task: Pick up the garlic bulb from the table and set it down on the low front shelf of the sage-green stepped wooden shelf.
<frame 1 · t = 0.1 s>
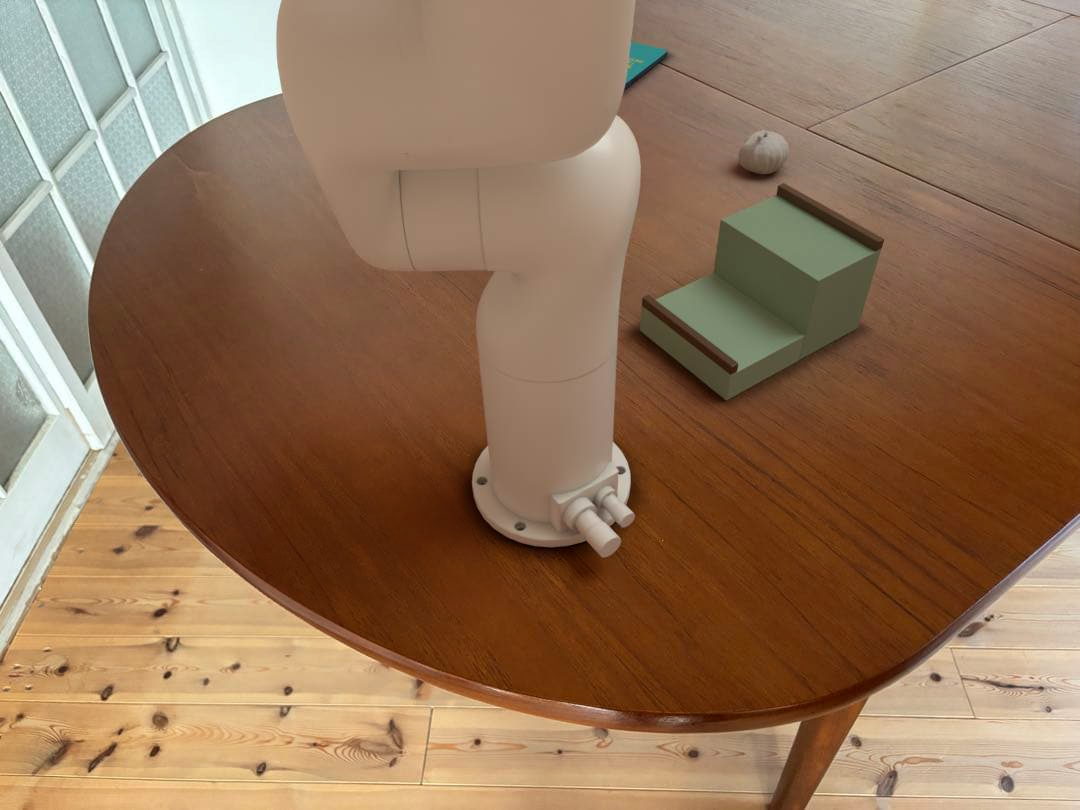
bottle: (585, 165, 106), on the table
shelf: (752, 327, 82), on the table
garlic: (761, 171, 104), on the table
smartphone: (624, 69, 125), on the table
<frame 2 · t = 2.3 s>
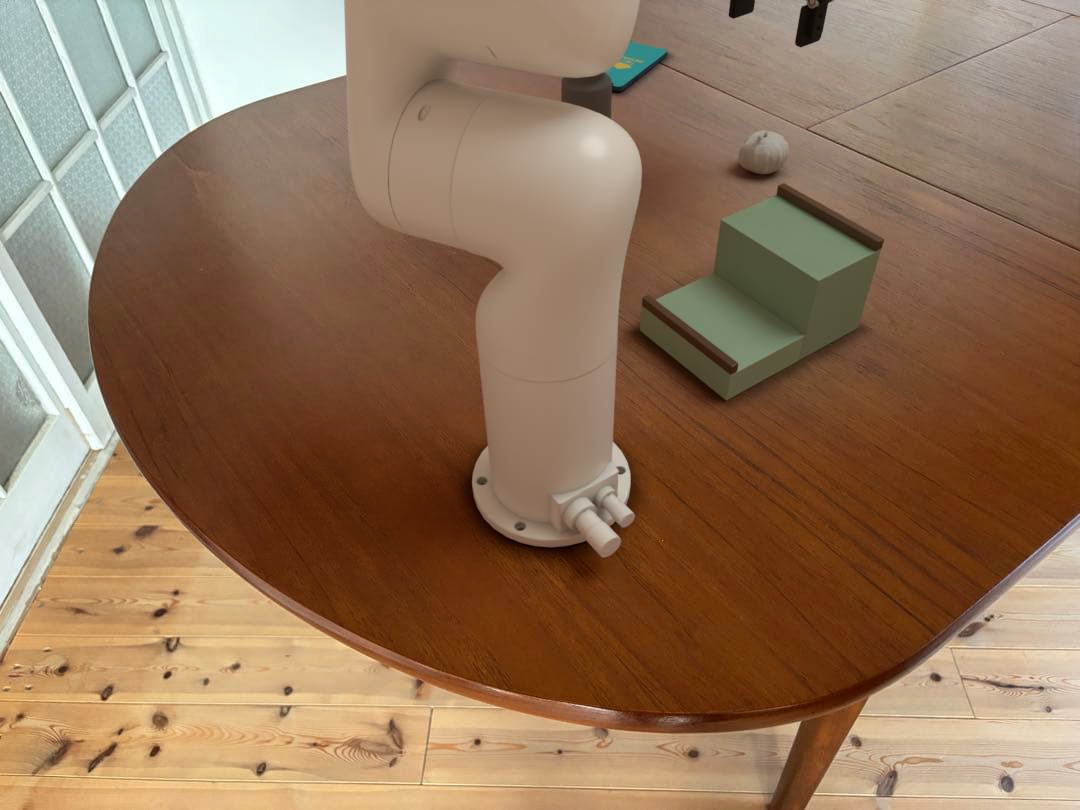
hand: (773, 28, 91), 17 cm above the table, tool pointing down, fingers open, 9 cm apart
nothing on the table moved.
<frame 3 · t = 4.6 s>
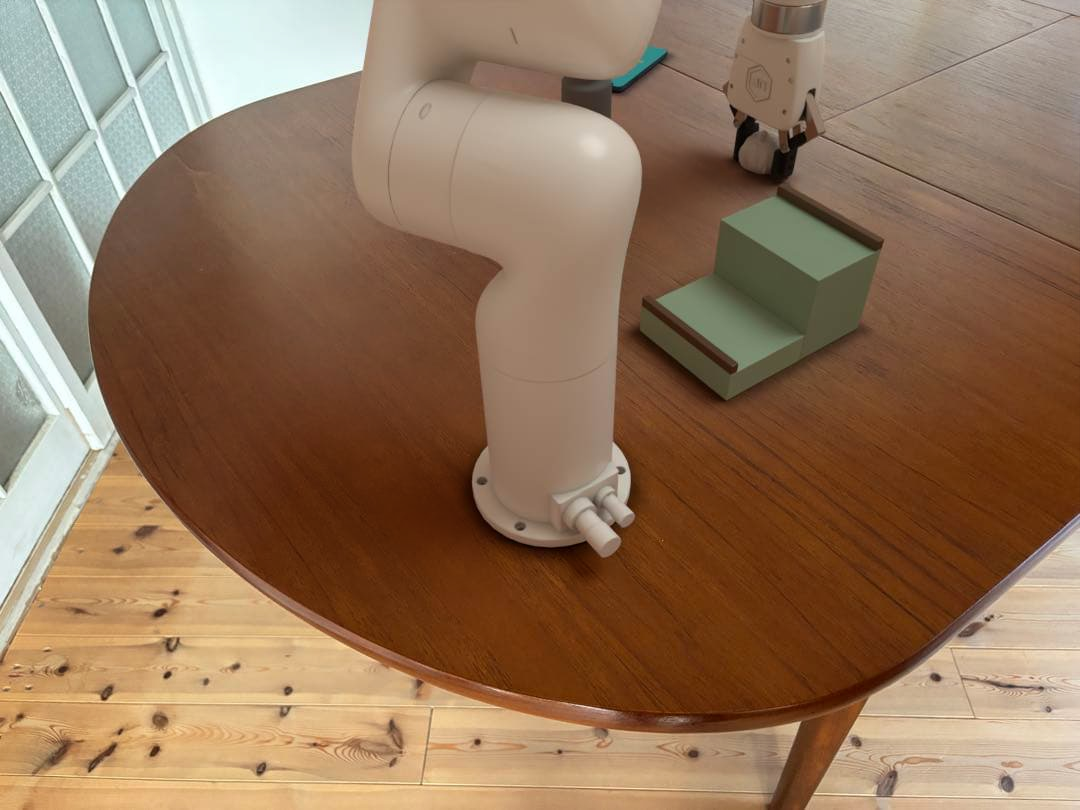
hand: (762, 166, 103), 0 cm above the table, tool pointing down, fingers closed on garlic, 5 cm apart
garlic: (761, 171, 104), on the table, touching gripper
everything else where it was.
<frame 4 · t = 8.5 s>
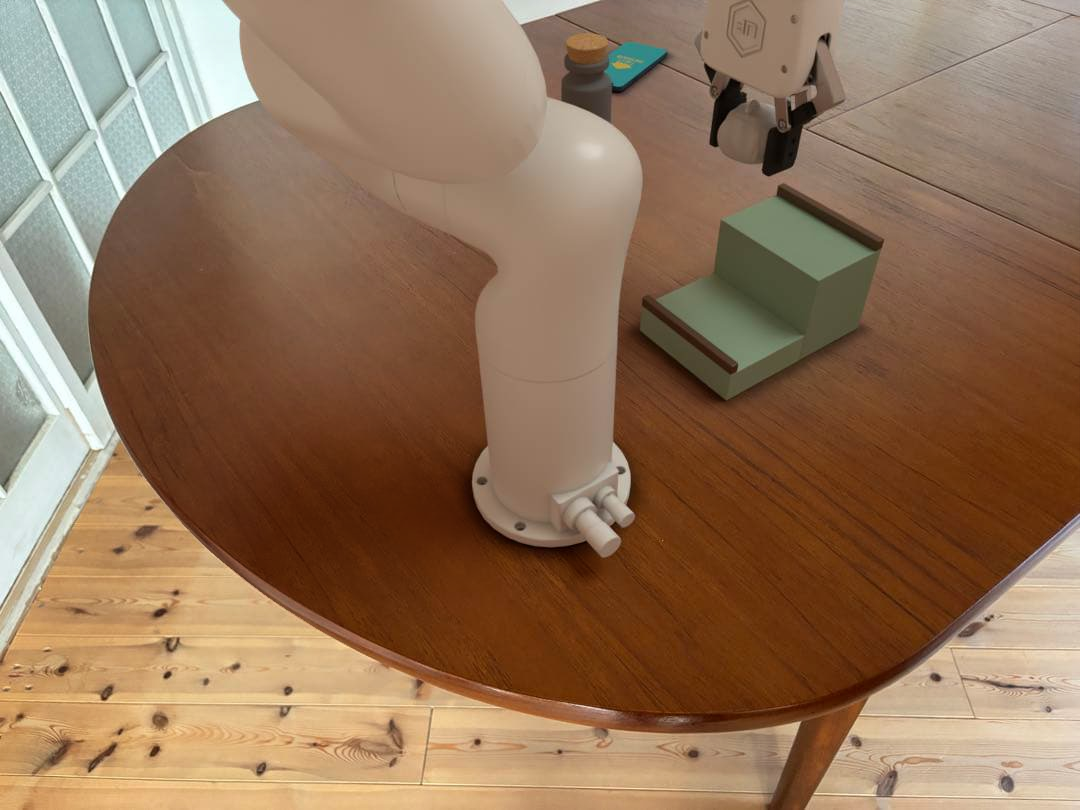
hand: (750, 154, 72), 17 cm above the table, tool pointing down, fingers closed on garlic, 5 cm apart
garlic: (749, 160, 73), point 16 cm above the table, touching gripper
everything else where it was.
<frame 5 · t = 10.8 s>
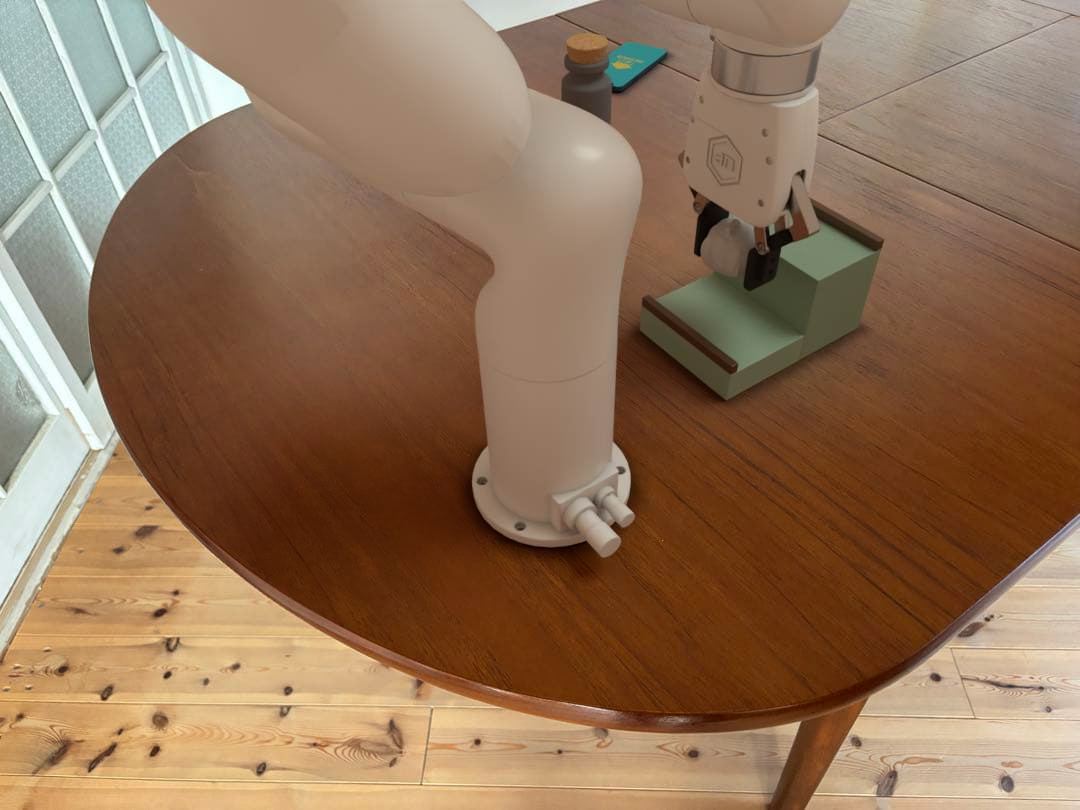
hand: (733, 265, 75), 9 cm above the table, tool pointing down, fingers closed on garlic, 5 cm apart
garlic: (732, 270, 75), point 8 cm above the table, touching gripper
everything else where it was.
when the fingers open (3 cm above the table, at t = 12.6 s): garlic stays where it is, resting on shelf.
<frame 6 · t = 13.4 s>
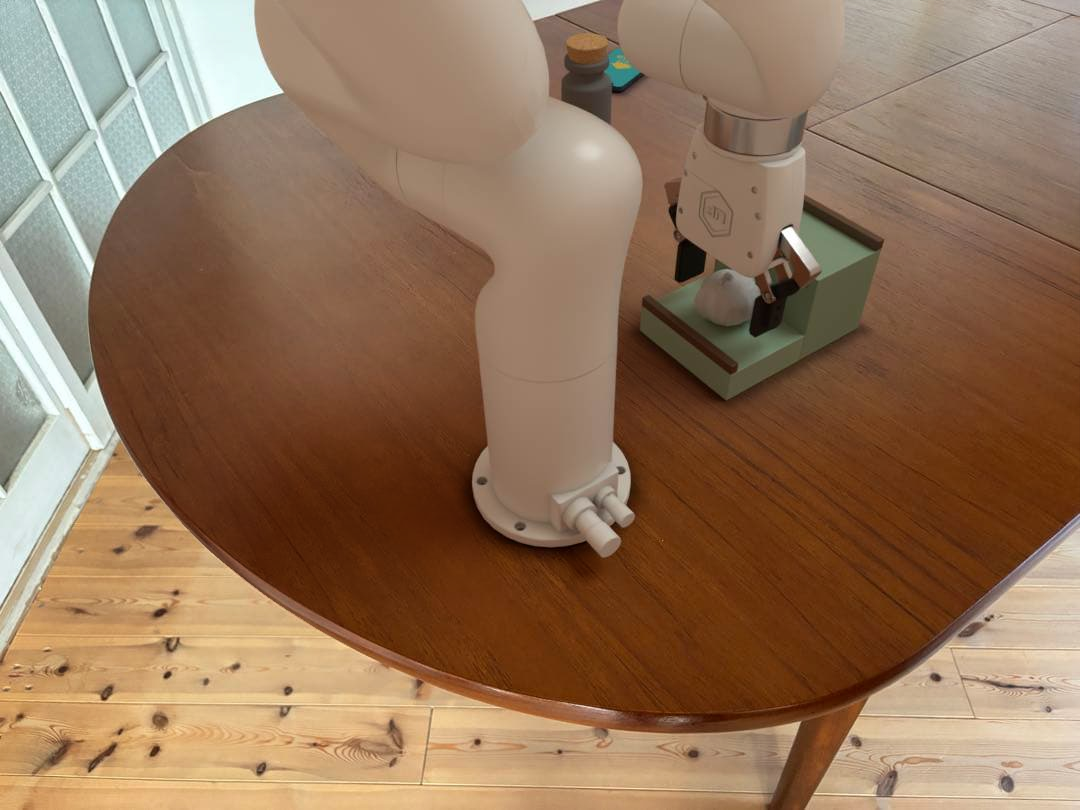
hand: (725, 302, 77), 5 cm above the table, tool pointing down, fingers open, 9 cm apart
garlic: (724, 319, 79), point 3 cm above the table, touching shelf
everything else where it was.
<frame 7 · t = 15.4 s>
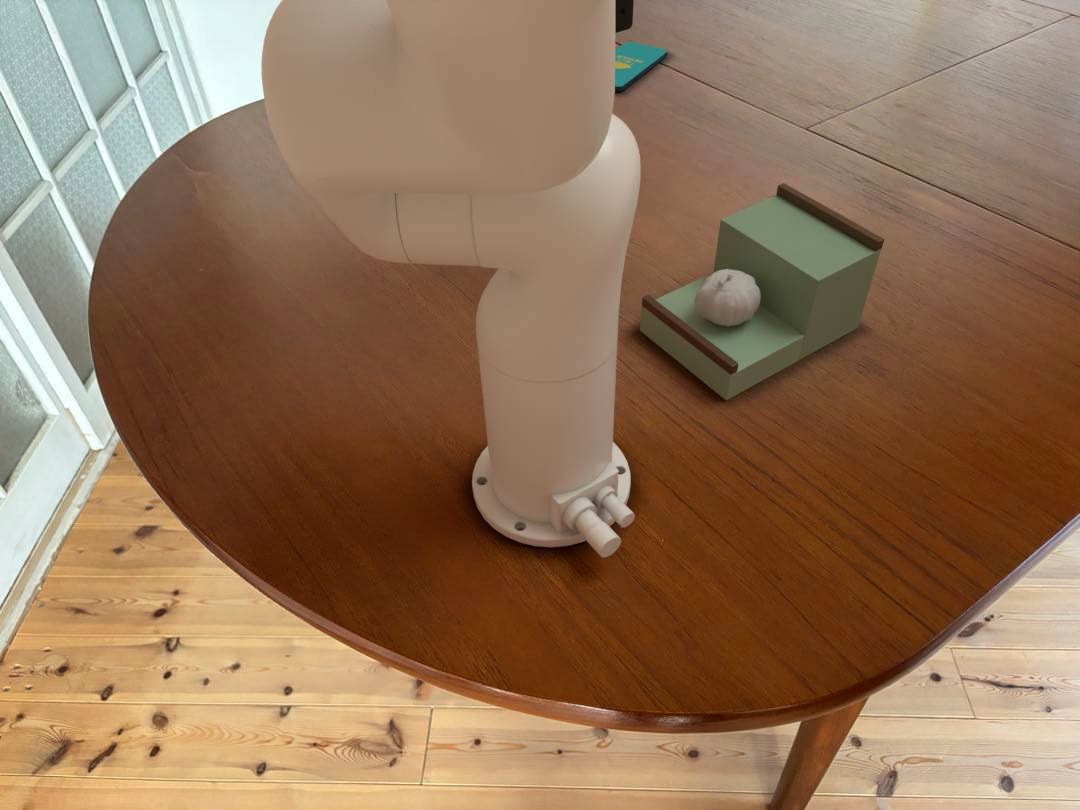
hand: (580, 13, 72), 26 cm above the table, tool pointing down, fingers open, 9 cm apart
nothing on the table moved.
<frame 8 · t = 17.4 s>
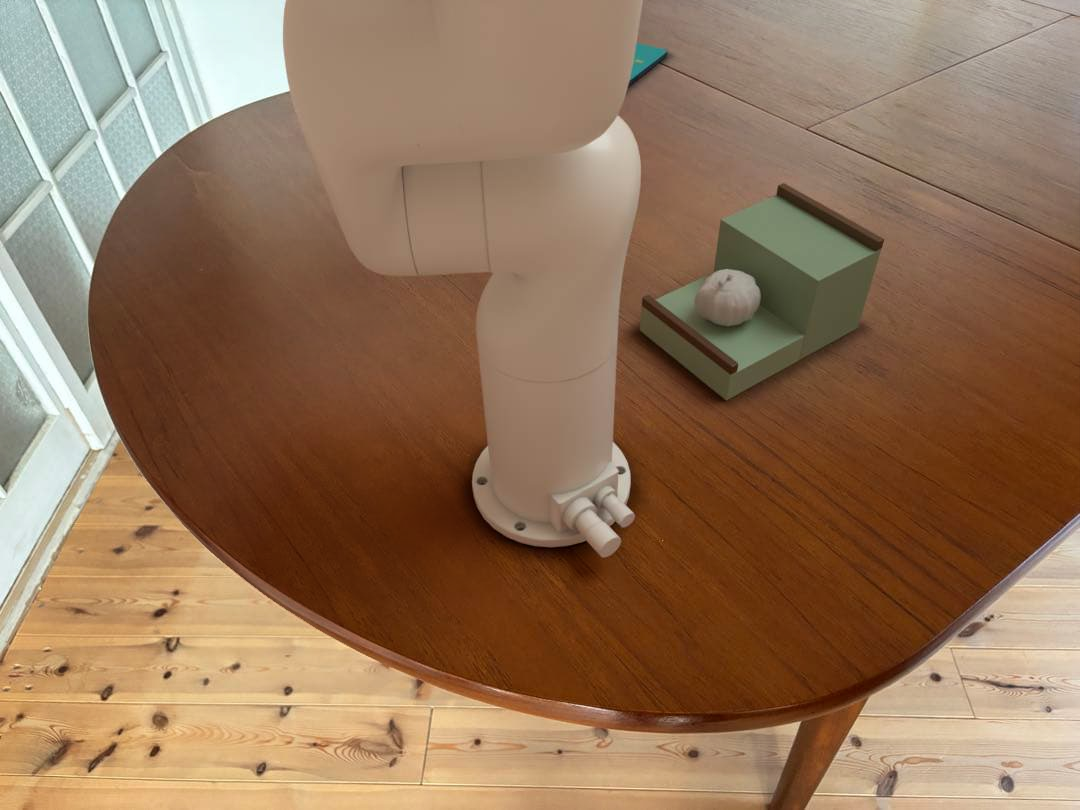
nothing on the table moved.
at the end: garlic inside the target area on the shelf (0.5 cm from its centre), point 2.8 cm above the shelf's base; the gripper is holding nothing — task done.
